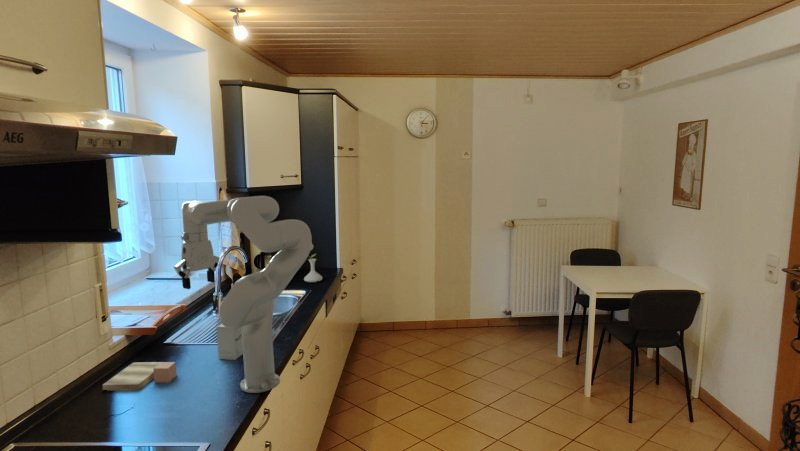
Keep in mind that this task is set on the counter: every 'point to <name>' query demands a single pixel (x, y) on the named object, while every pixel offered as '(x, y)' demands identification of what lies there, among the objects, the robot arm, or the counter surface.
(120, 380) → the chopping board
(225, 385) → the counter surface
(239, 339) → the supplement box
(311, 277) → the flower in vase
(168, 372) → the terracotta cube
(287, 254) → the robot arm
